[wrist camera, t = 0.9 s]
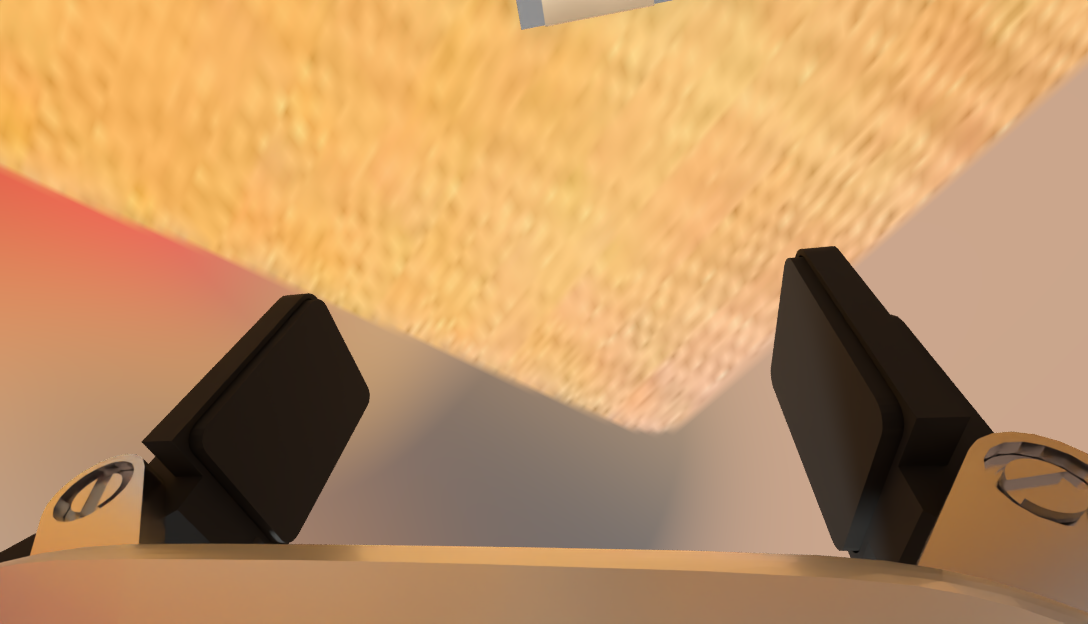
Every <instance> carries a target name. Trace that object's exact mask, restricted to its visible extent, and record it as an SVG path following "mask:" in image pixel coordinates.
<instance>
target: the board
mask: <svg viewBox="0 0 1088 624" xmlns="http://www.w3.org/2000/svg"><path fill="white" fill-rule="evenodd" d="M516 1H517V7H518V13H519V18H520V24H521V30H523V29H528V28H533V27H538V26H543V25H545V20H544V13H543V7H542V0H516ZM666 1H671V0H654V4H656V3H661V2H666Z"/></svg>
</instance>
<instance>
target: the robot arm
mask: <svg viewBox="0 0 1088 624" xmlns="http://www.w3.org/2000/svg"><path fill="white" fill-rule="evenodd" d="M771 380H772V385H773V388H774V391H775V393H776V395H777V398H778V401H779V403H780V406H781V409H782V411H783V414H784V416H785V419H786V422H787V424H788V427H789V429H790V432H791V435H792V437H793V440H794V442H795V445H796V448H797V450H798V453H799V455H800V458H801V461H802V463H803V465H804V468H805V471H806V473H807V476H808V478H809V481H810V484H811V486H812V489H813V492H814V494H815V497H816V499H817V502H818V505H819V507H820V510H821V512H822V515H823V518H824V520H825V523H826V525H827V528H828V531H829V533H830V535H831V538H832V540H833V543H834V545H835V546H836V548H837V549H838V550H839V551H848V552H849V555H850V557H851V558H845V557H832V556H820V555H795V554H769V553H766V554H765V553H739V552H712V551H680V550H676V551H675V550H629V549H627V550H626V549H579V548H575V549H574V548H527V547H465V546H464V547H462V546H395V545H393V546H392V545H314V544H313V545H312V544H307V545H306V544H289V542H292V541H293V540H294V539H295V538H296V537H297V535H298V534H299V532H300V530H301V528H302V526H303V525H304V523H305V521H306V519H307V517H308V515H309V513H310V512H311V510H312V508H313V506H314V504H315V502H316V500H317V499H318V497H319V495H320V493H321V491H322V489H323V487H324V486H325V484H326V482H327V480H328V478H329V476H330V474H331V472H332V471H333V468H334V467H335V465H336V463H337V461H338V459H339V458H340V456H341V454H342V452H343V450H344V448H345V446H346V445H347V443H348V441H349V439H350V437H351V435H352V433H353V432H354V430H355V427H356V426H357V424H358V422H359V420H360V418H361V417H362V415H363V413H364V411H365V409H366V407H367V405H368V403H369V397H370V394H369V389H368V387H367V385H366V383H365V381H364V379H363V377H362V375H361V373H360V371H359V369H358V367H357V365H356V363H355V361H354V359H353V357H352V355H351V353H350V352H349V350H348V348H347V346H346V344H345V342H344V340H343V338H342V336H341V334H340V332H339V330H338V328H337V326H336V324H335V322H334V320H333V318H332V316H331V314H330V312H329V310H328V308H327V306H326V305H325V303H324V302H323V301H322V300H319V299H317V297H316V296H314V295H313V294H310V293H308V294H297V295H287V296H283V297H281V298H280V299H279V300H278V301H277V302H276V303H275V304H274V305H273V306H272V307H271V308H270V309H269V310H268V311H267V312H266V313H265V314H264V315H263V316H262V318H260V320H259V321H258V322H257V323H256V324H255V325H254V326H253V327H252V328H251V329H250V330H249V331H248V332H247V333H246V334H245V335H244V336H243V337H242V338H241V339H240V340H239V341H238V342H237V343H236V344H235V345H234V347H232V349H231V350H230V351H229V352H228V353H227V354H226V355H225V356H224V357H223V358H222V359H221V360H220V361H219V362H218V363H217V364H216V365H215V366H214V367H213V368H212V370H210V371H209V372H208V373H207V374H206V375H205V377H204V378H203V379H202V380H201V381H200V382H199V383H198V384H197V385H196V386H195V387H194V388H193V389H192V390H191V391H190V392H189V393H188V394H187V395H186V396H185V397H184V398H183V399H182V400H181V401H180V402H179V404H178V405H177V406H176V407H175V408H174V409H173V410H172V411H171V412H170V413H169V414H168V415H167V416H166V417H165V418H164V419H163V420H162V421H161V422H160V423H159V424H158V425H157V426H156V427H155V428H154V429H153V430H152V431H151V433H150V434H149V435H148V436H147V437H146V438H145V439H144V440H143V441H142V443H143V444H144V445H145V446H146V447H147V448H148V449H149V450H150V451H151V452H152V453H153V454H154V455H155V458H154V459H153V460H152V461H151V462H150V463H149V464H148V463H147V462H146V461H145V460H144V459H143V458H141V457H140V456H138V455H136V454H125V455H119V456H115V457H112V458H109V459H107V460H105V461H102V462H99V463H98V464H96V465H94V466H92V467H90V468H89V469H87V470H85V471H84V472H82V473H81V474H79V475H78V476H76V477H75V478H74V479H72V480H71V481H69V482H68V483H67V484H66V485H65V486H64V487H63V488H62V489H60V490H59V491H58V492H57V493H56V494H55V496H54V497H53V498H52V499H51V500H50V502H49V503H48V504H47V506H46V508H45V510H44V512H43V514H42V516H41V519H40V523H39V526H38V529H37V533H36V534H34V535H32V536H30V537H28V538H26V539H24V540H23V541H21V542H19V543H17V544H15V545H13V546H12V547H10V548H8V549H6V550H4V551H2V552H0V624H1088V454H1087V453H1085V452H1083V451H1080V450H1078V449H1076V448H1073V447H1072V446H1069V445H1067V444H1065V443H1062V442H1060V441H1057V440H1053V439H1049V438H1046V437H1042V436H1038V435H1035V434H1027V433H1019V432H1002V433H994V432H993V431H992V430H991V429H990V428H989V426H988V425H987V424H986V423H985V421H984V420H983V419H982V418H981V417H980V415H979V414H978V413H977V411H976V410H975V409H974V408H973V407H972V405H971V404H970V403H969V402H968V400H967V399H966V398H965V397H964V395H963V394H962V393H961V392H960V391H959V389H958V388H957V387H956V386H955V384H954V383H953V382H952V381H951V380H950V378H949V377H948V376H947V375H946V373H945V372H944V371H943V370H942V368H941V367H940V366H939V365H938V364H937V362H936V361H935V360H934V359H933V357H932V356H931V355H930V354H929V353H928V351H927V350H926V349H925V348H924V346H923V345H922V344H921V343H920V341H919V340H918V339H917V338H916V336H915V335H914V334H913V333H912V332H911V330H910V329H909V328H908V327H907V325H906V324H905V323H904V322H903V321H902V320H901V319H900V318H898V317H897V316H894V315H890V314H889V313H888V311H887V310H886V309H885V308H884V306H883V305H882V304H881V302H880V301H879V300H878V299H877V297H876V296H875V295H874V294H873V292H872V291H871V290H870V289H869V287H868V286H867V285H866V284H865V282H864V281H863V280H862V278H861V277H860V276H859V275H858V273H857V272H856V271H855V270H854V268H853V267H852V266H851V265H850V263H849V262H848V261H847V260H846V258H845V257H844V256H843V254H842V253H841V252H840V251H839V249H838V248H836V247H835V246H830V247H819V248H808V249H800V250H798V251H797V254H796V256H795V258H788V259H787V260H786V262H785V265H784V272H783V280H782V288H781V295H780V303H779V310H778V318H777V326H776V333H775V341H774V349H773V357H772V364H771Z"/></svg>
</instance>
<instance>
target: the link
mask: <svg viewBox="0 0 1088 624" xmlns="http://www.w3.org/2000/svg"><path fill="white" fill-rule="evenodd" d="M649 6H654V0H542V7H543V13H544V20H545V26H551V25H556V24H561V23H566V22H572V21H577V20H582V19H587V18H592V17H597V16H602V15H608V14H613V13H618V12H623V11H628V10H633V9H638V8H643V7H649Z"/></svg>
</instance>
